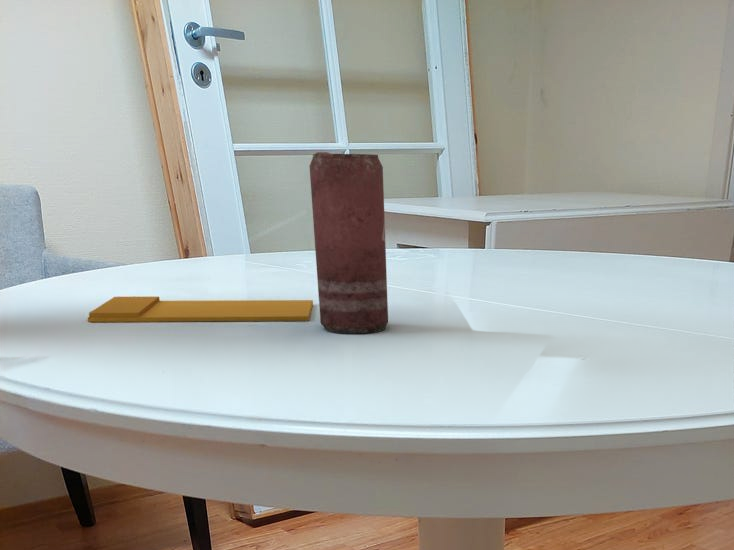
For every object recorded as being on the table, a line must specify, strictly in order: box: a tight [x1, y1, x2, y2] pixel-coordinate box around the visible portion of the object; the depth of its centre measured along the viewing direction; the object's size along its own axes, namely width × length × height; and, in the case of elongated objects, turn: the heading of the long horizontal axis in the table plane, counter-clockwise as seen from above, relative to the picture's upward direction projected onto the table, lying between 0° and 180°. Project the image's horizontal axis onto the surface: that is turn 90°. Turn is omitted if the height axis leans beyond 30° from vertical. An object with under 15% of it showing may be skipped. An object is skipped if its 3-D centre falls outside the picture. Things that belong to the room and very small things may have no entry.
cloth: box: [87, 296, 314, 323], centre depth 87 cm, size 20×10×1 cm, turn 97°
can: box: [309, 151, 389, 335], centre depth 77 cm, size 6×6×14 cm
